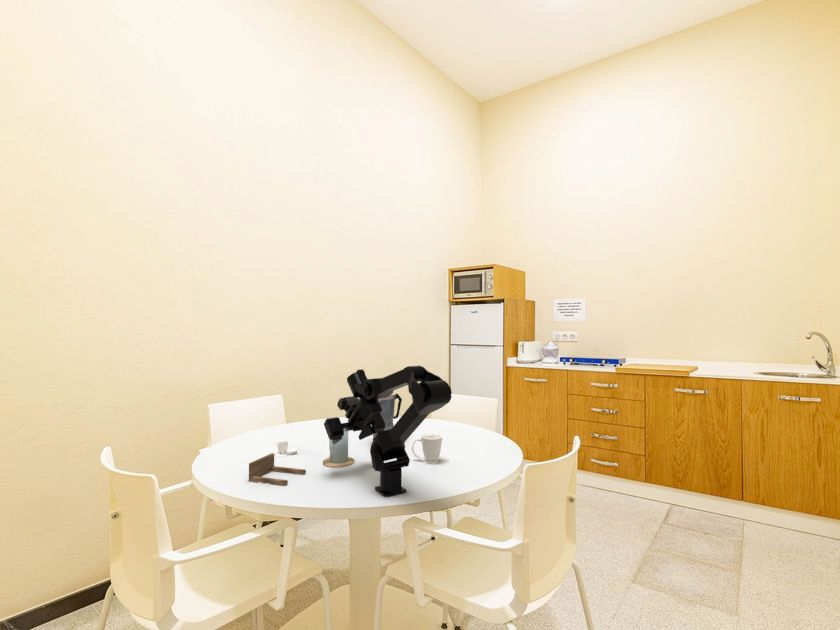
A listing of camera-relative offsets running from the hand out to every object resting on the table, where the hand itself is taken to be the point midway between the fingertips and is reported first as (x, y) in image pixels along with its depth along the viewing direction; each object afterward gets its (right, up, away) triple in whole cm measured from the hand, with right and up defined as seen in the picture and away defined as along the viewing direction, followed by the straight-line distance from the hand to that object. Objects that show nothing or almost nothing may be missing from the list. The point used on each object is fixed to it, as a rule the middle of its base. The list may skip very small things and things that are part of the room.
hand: (346, 440), depth 132 cm
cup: (+25, -9, +5) cm, 27 cm away
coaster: (-3, -8, +4) cm, 10 cm away
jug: (-4, -8, +5) cm, 10 cm away
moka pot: (+10, -9, +26) cm, 30 cm away
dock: (-18, -8, -10) cm, 22 cm away
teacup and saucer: (-24, -9, +11) cm, 28 cm away
